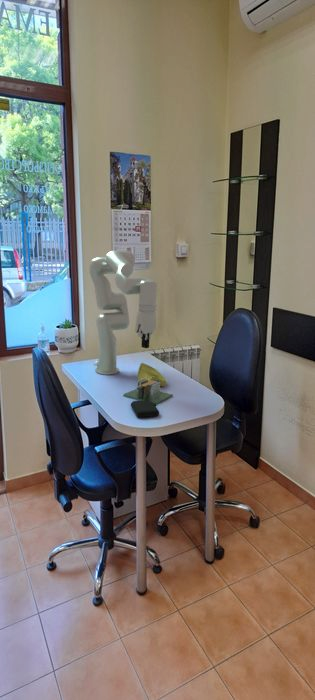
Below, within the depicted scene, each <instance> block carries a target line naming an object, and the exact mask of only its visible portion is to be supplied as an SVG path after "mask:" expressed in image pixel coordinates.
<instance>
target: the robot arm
mask: <svg viewBox="0 0 315 700" xmlns="http://www.w3.org/2000/svg"><path fill="white" fill-rule="evenodd" d="M135 261H136V259H135V255H134V254H133V253H132V251H130V250H110V251H109V252H108V253H106V255H105V256H100V257H95V258H93V259H91V261H90V263H89V269H88V270H89V274H90V279H91V281H92V283H93V287H94V288H93V289H94V294H95V301H96V306H97V308H98V309H99V310H100V311H114V312H103V313H100V314H98V316H97V317H96V327H97V333H98V334H97V335H98V336H97V337H98V339H97V340H98V343H97V345H98V361H97V360H96V361H94V363H93V366H96V368H95V372H96V373H97V374H100V375H106V376H108V375H115V374H119V372H120V368H119V367H117V346H118V344H117V342H118V341H117V337H116V336H115V334H114V331H122V330H127V329H128V328H129V326H130V316H129V309H128V307H129V306H128V301H127V298H126V297H127V296H125V295H130V296H131V295H139V298H138V311H137V314H136V319H135V330H134V331H135V333H136V334H137V337H139V338H140V339H141V344H140V345H141V348H144V349H149V348H150V339H151V336H152V335H153V334H154V331H155V330H156V327H157V324H156V323H157V316H156V314H157V313H156V312H157V311H156V308H157V307H156V306H157V291H158V289H157V288H158V284H157V283H158V282H156V280H152V279H150V278H148V277H144V276H142V277H131V275H132V274H133V272H134V265H135V263H136V262H135ZM105 275H115V276H114V281H115V285H116V287H117V288H118V289H119V291H112V287H111V286H112V284H111V282H110V280H109V279H108V278H107V276H105ZM115 311H116V312H115Z"/></svg>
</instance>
